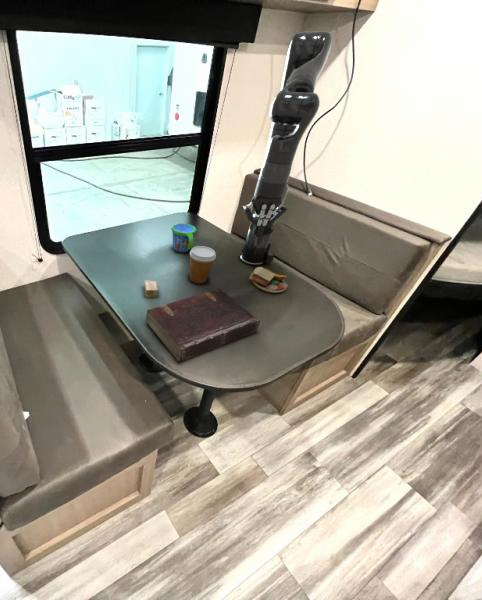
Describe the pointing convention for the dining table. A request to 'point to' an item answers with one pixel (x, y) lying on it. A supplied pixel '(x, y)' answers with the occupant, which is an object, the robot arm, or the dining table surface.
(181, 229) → the snack cup
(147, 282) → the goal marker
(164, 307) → the hardback book
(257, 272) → the toy sandwich meal
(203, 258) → the disposable coffee cup
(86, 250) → the dining table surface
